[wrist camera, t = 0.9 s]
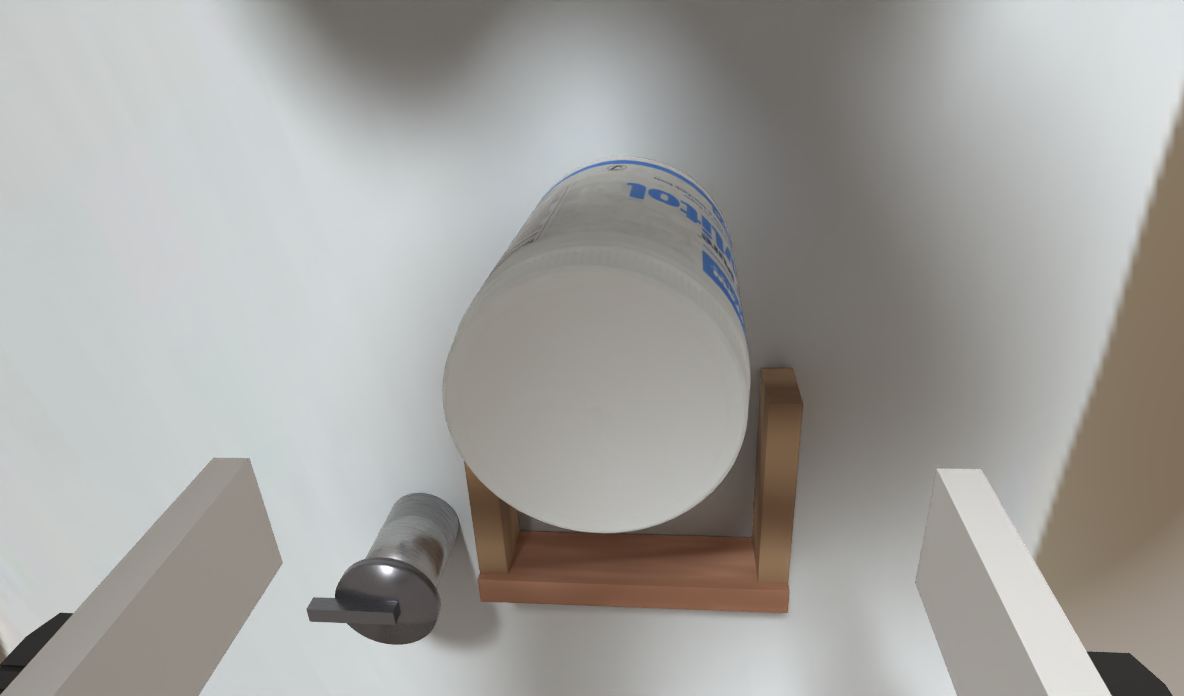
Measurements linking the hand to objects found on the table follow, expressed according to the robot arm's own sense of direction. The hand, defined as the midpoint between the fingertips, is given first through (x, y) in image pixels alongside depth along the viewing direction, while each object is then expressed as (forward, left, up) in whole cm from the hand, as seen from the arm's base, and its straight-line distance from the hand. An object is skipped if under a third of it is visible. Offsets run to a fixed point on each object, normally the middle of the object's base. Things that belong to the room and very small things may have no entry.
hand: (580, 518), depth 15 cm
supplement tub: (+2, -1, -23) cm, 23 cm away
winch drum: (+18, -13, -22) cm, 31 cm away
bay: (+14, -1, -22) cm, 26 cm away
